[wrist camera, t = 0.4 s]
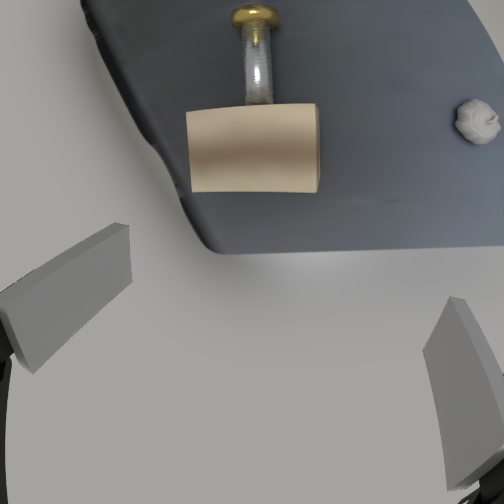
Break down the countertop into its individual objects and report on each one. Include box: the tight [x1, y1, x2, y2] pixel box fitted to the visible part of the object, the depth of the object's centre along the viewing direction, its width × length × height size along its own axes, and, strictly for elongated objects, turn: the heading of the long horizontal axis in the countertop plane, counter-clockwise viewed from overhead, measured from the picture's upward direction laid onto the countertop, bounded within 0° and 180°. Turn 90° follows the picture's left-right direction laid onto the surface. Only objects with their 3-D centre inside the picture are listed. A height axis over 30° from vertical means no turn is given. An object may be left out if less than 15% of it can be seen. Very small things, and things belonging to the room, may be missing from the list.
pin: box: [231, 5, 279, 106], centre depth 28 cm, size 14×5×5 cm, turn 3°
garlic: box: [455, 98, 501, 145], centre depth 24 cm, size 6×5×5 cm
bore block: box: [186, 104, 320, 193], centre depth 31 cm, size 8×12×9 cm, turn 93°
